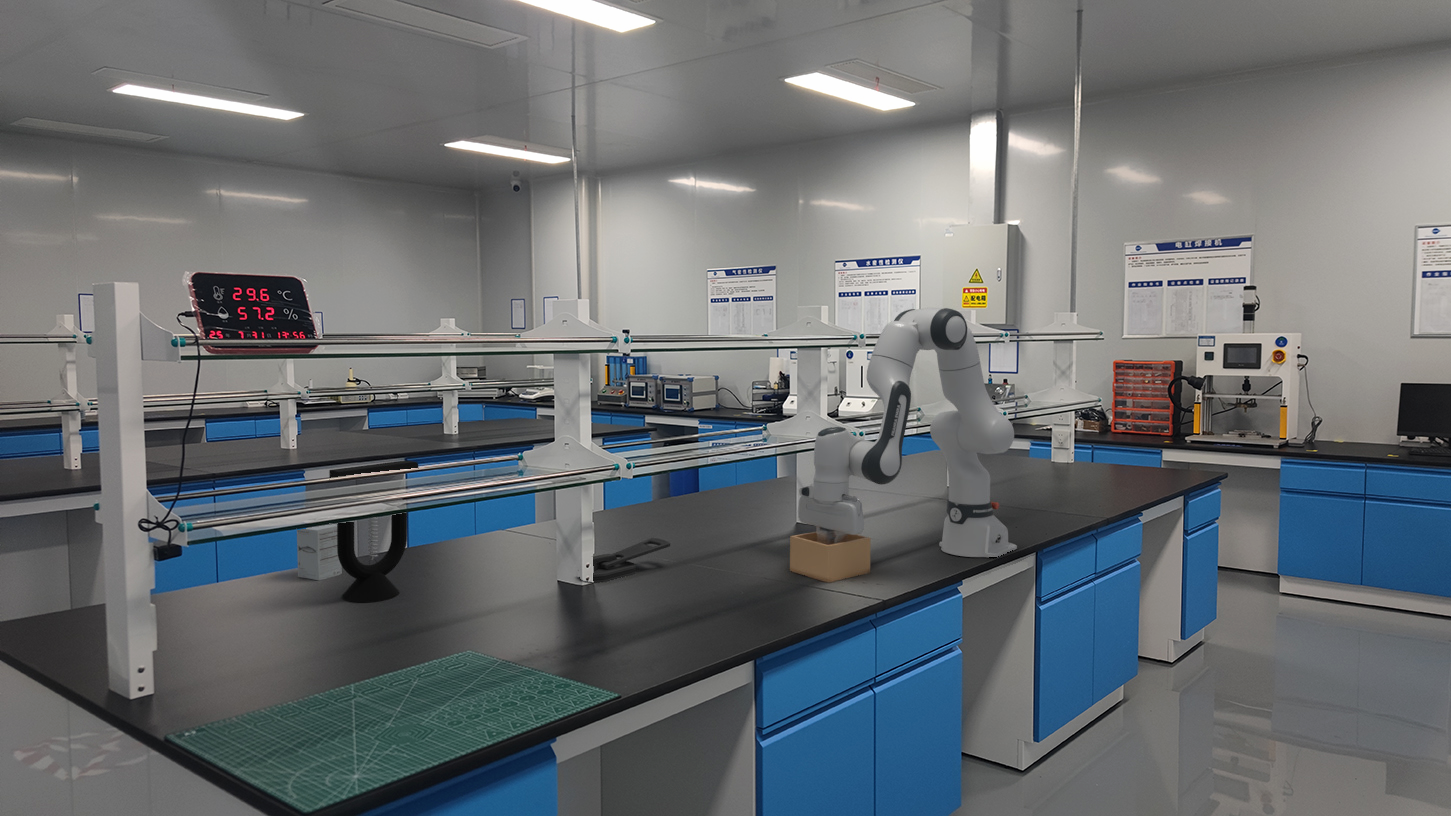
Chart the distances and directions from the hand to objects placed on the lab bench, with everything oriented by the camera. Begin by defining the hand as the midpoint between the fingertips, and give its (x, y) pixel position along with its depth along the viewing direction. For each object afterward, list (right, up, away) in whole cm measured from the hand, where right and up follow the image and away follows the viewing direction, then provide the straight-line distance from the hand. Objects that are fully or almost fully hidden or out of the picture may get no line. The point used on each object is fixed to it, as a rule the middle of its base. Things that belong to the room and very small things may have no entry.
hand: (830, 545), depth 227 cm
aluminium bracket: (0, -6, +2) cm, 6 cm away
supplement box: (-127, -7, -5) cm, 127 cm away
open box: (0, -7, +1) cm, 7 cm away
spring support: (-107, -8, -20) cm, 109 cm away
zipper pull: (-52, -7, 0) cm, 52 cm away
